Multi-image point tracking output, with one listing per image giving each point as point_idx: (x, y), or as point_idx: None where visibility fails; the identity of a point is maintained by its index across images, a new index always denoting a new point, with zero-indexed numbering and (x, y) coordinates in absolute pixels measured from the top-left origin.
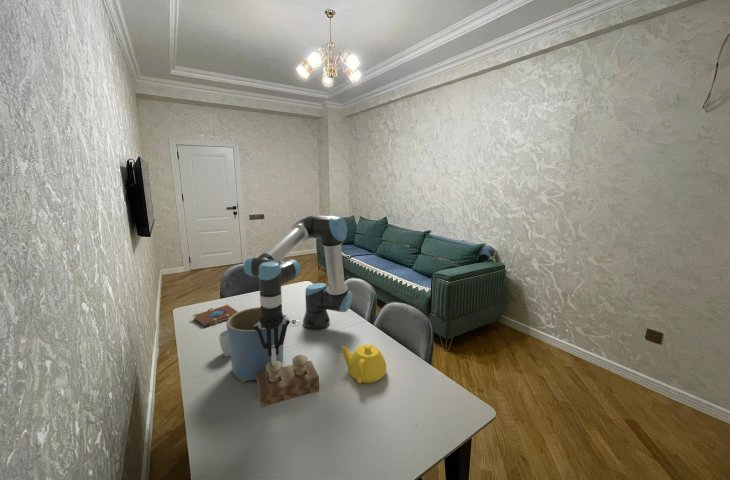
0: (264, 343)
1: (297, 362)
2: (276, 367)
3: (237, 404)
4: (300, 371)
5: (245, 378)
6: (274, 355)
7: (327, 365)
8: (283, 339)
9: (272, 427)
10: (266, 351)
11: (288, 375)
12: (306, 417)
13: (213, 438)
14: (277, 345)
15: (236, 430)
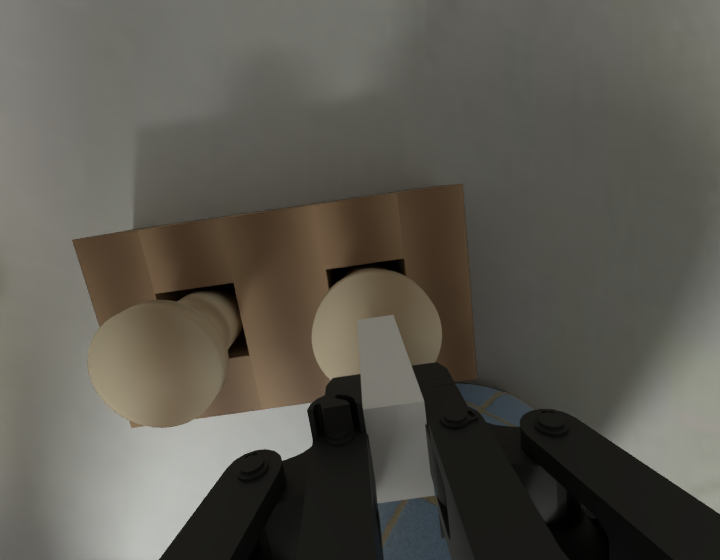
0: (599, 481)
1: (175, 325)
2: (356, 300)
3: (545, 239)
4: (190, 300)
5: (514, 399)
6: (376, 357)
7: (82, 422)
8: (190, 542)
9: (385, 16)
10: (436, 514)
11: (281, 310)
12: (208, 36)
13: (656, 31)
14: (331, 445)
15: (554, 52)
